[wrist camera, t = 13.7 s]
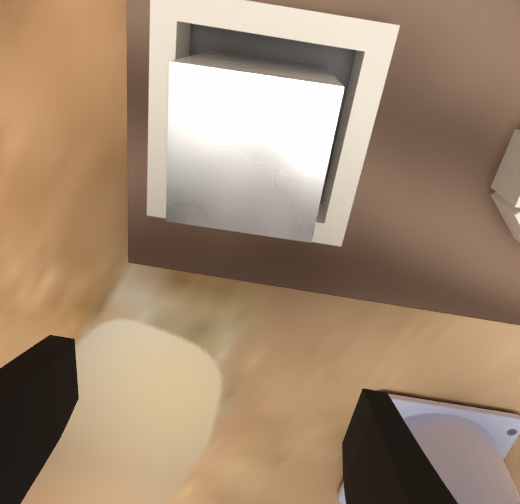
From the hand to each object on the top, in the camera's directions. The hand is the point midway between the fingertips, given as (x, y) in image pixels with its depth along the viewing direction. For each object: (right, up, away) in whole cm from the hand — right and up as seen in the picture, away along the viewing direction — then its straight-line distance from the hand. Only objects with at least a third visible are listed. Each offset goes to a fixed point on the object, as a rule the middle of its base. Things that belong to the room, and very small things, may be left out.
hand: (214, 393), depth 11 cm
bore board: (+7, +8, +6) cm, 12 cm away
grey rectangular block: (+1, +8, +5) cm, 10 cm away
